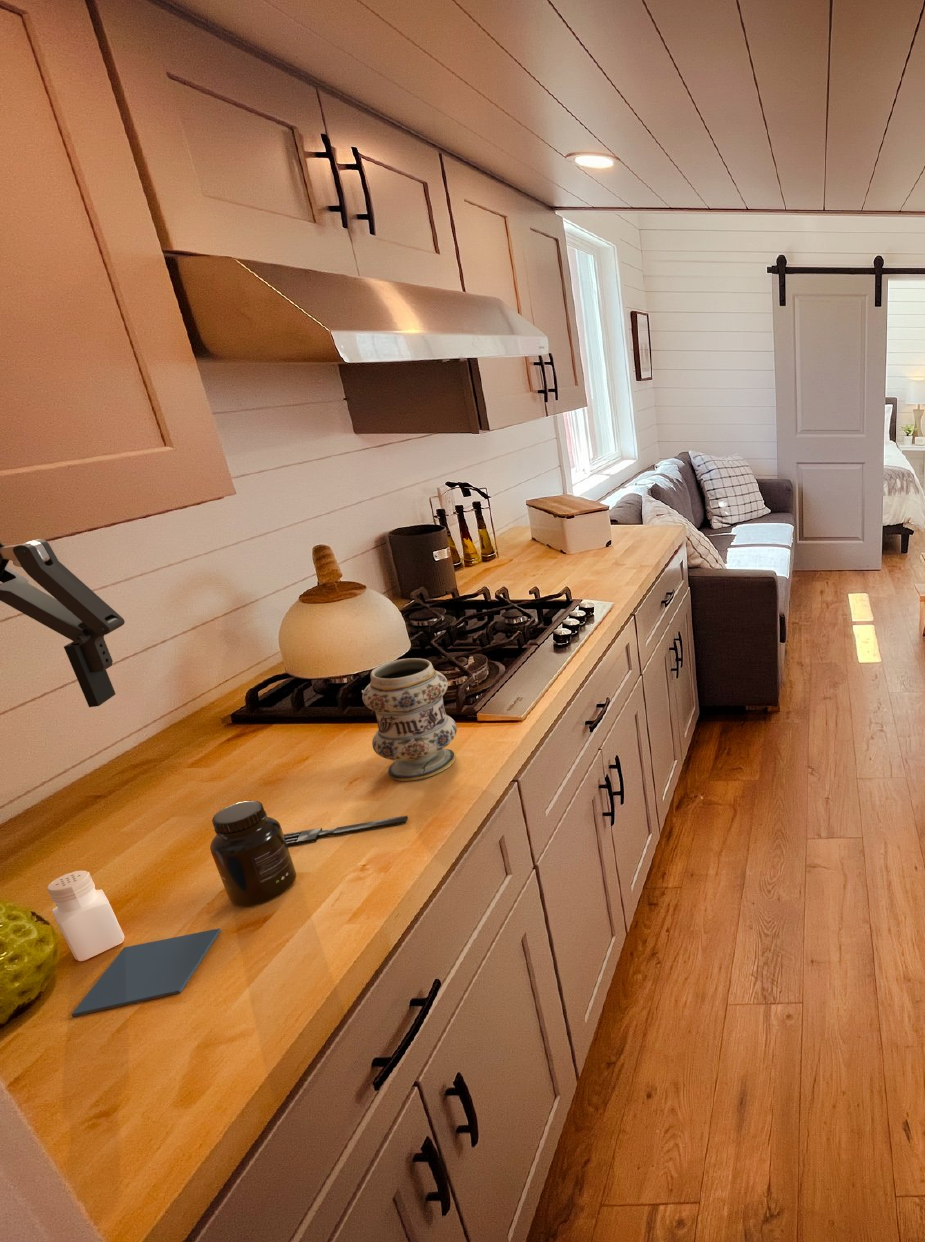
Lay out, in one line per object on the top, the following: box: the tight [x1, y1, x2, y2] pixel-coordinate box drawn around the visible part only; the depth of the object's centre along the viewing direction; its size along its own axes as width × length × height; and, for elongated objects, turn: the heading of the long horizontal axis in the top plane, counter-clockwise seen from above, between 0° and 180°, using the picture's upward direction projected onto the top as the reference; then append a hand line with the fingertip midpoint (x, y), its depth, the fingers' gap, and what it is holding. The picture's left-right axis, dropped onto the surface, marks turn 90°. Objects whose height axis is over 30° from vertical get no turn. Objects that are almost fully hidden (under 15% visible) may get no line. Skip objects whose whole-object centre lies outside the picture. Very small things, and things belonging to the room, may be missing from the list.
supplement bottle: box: [209, 800, 297, 907], centre depth 85 cm, size 7×7×12 cm
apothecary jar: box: [361, 657, 458, 782], centre depth 111 cm, size 12×12×18 cm
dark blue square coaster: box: [70, 928, 221, 1017], centre depth 75 cm, size 9×9×1 cm
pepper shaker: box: [46, 870, 126, 962], centre depth 77 cm, size 4×4×10 cm
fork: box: [283, 815, 409, 847], centre depth 97 cm, size 17×3×1 cm, turn 109°
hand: (13, 711), depth 66 cm, fingers open, 13 cm apart
